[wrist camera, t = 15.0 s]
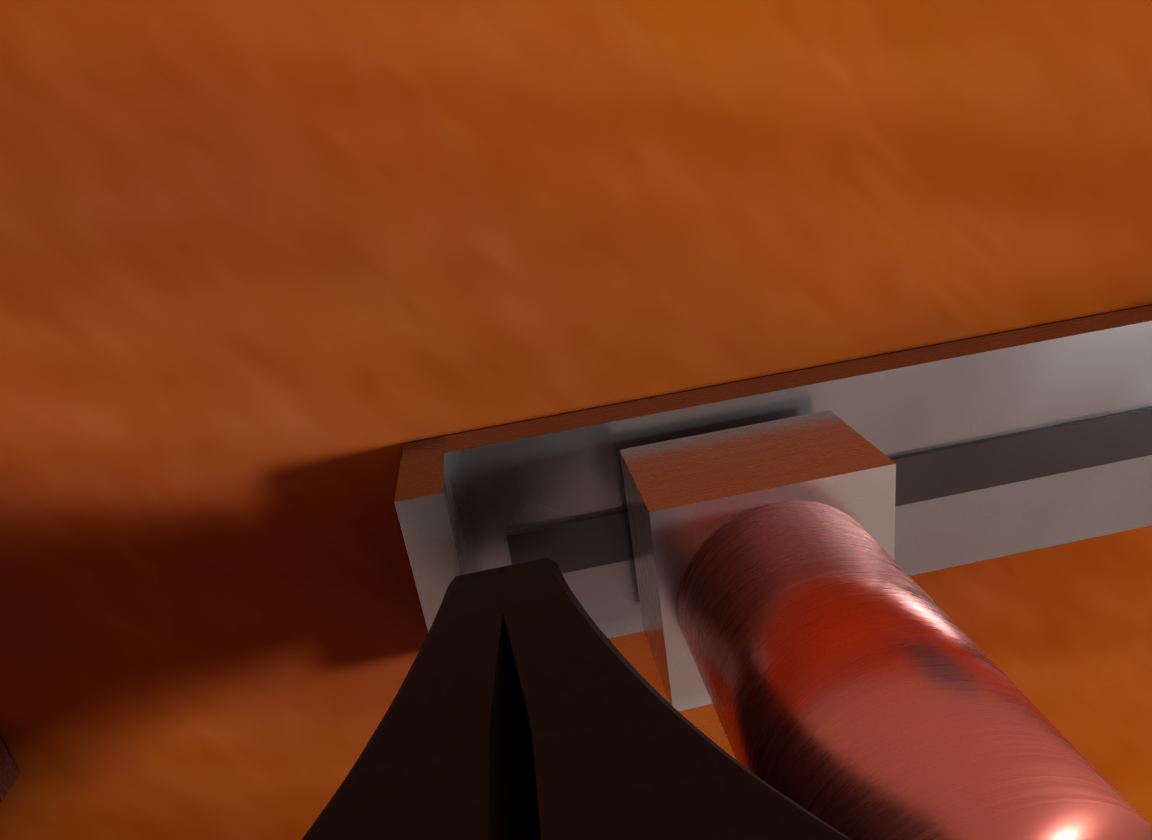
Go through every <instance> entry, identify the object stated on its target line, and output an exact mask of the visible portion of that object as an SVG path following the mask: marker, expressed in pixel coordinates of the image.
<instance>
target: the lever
mask: <svg viewBox="0 0 1152 840" xmlns="http://www.w3.org/2000/svg"><path fill="white" fill-rule="evenodd" d="M620 457H621V465H622V472H623V480H624V487H625V495H626V503H627V510H628V518H629V525H630V533H631V540H632V548H633V556H634V563H635V571H636V578H637V586H638V593H639V601H640V609H641V616H642V624H643V629H644V632H645V635H646V638H647V640H648V643H649V646H650V649H651V651H652V654H653V657H654V660H655V663H656V665H657V668H658V671H659V674H660V677H661V679H662V682H663V685H664V688H665V691H666V693H667V696H668V699H669V702H670V704H671V705H672V706H673V707H674V708H675V709H676V710H677V711H682V710H686V709H691V708H695V707H700V706H705V705H709V704H713V706H714V708H715V710H716V713H717V715H718V717H719V720H720V722H721V724H722V727H723V729H724V731H725V734H726V736H727V738H728V741H729V743H730V745H731V748H732V750H733V752H734V755H735V757H736V759H737V761H738V762H740V763H741V764H742V765H743V766H745V767H746V768H747V769H749V770H750V771H751V772H753V773H754V774H755V775H756V776H758V777H759V778H760V779H762V780H763V781H764V782H766V783H767V784H769V785H770V786H772V787H773V788H775V789H776V790H778V791H779V792H781V793H782V794H784V795H785V796H787V797H788V798H790V799H791V800H793V801H794V802H796V803H797V804H799V805H800V806H802V807H803V808H805V809H806V810H808V811H809V812H811V813H812V814H814V815H815V816H817V817H818V818H820V819H821V820H823V821H824V822H826V823H827V824H829V825H830V826H832V827H833V828H835V829H836V830H838V831H839V832H841V833H842V834H844V835H845V836H847V837H848V838H850V839H851V840H1152V827H1151V826H1150V824H1149V823H1148V822H1147V821H1146V820H1145V819H1144V818H1143V817H1142V816H1141V815H1140V814H1139V813H1138V812H1137V811H1136V810H1135V809H1134V808H1133V807H1132V806H1131V805H1130V804H1129V803H1128V802H1127V801H1126V800H1125V799H1124V798H1123V797H1122V795H1121V794H1120V793H1119V792H1118V791H1117V790H1116V789H1115V788H1114V787H1113V786H1112V785H1111V784H1110V783H1109V782H1108V781H1107V780H1106V779H1105V778H1104V777H1103V776H1102V775H1101V774H1100V773H1099V772H1098V771H1097V770H1096V769H1095V768H1094V766H1093V765H1092V764H1091V763H1090V762H1089V761H1088V760H1087V759H1086V758H1085V757H1084V756H1083V755H1082V754H1081V753H1080V752H1079V751H1078V750H1077V749H1076V748H1075V747H1074V746H1073V745H1072V744H1071V743H1070V742H1069V741H1068V740H1067V739H1066V737H1065V736H1064V735H1063V734H1062V733H1061V732H1060V731H1059V730H1058V729H1057V728H1056V727H1055V726H1054V725H1053V724H1052V723H1051V722H1050V721H1049V720H1048V719H1047V718H1046V717H1045V716H1044V715H1043V714H1042V713H1041V712H1040V711H1039V710H1038V709H1037V707H1036V706H1035V705H1034V704H1033V703H1032V702H1031V701H1030V700H1029V699H1028V698H1027V697H1026V696H1025V695H1024V694H1023V693H1022V692H1021V691H1020V690H1019V689H1018V688H1017V687H1016V686H1015V685H1014V684H1013V683H1012V682H1011V681H1010V680H1009V678H1008V677H1007V676H1006V675H1005V674H1004V673H1003V672H1002V671H1001V670H1000V669H999V668H998V667H997V666H996V665H995V664H994V663H993V662H992V661H991V660H990V659H989V658H988V657H987V656H986V655H985V654H984V653H983V652H982V651H981V649H980V648H979V647H978V646H977V645H976V644H975V643H974V642H973V641H972V640H971V639H970V638H969V637H968V636H967V635H966V634H965V633H964V632H963V631H962V630H961V629H960V628H959V627H958V626H957V625H956V624H955V623H954V622H953V620H952V619H951V618H950V617H949V616H948V615H947V614H946V613H945V612H944V611H943V610H942V609H941V608H940V607H939V606H938V605H937V604H936V603H935V602H934V601H933V600H932V599H931V598H930V597H929V596H928V595H927V594H926V593H925V591H924V590H923V589H922V588H921V587H920V586H919V585H918V584H917V583H916V582H915V581H914V580H913V579H912V578H911V577H910V576H909V575H908V574H907V573H906V572H905V571H904V570H903V569H902V568H901V567H900V566H899V565H898V564H897V562H896V561H895V560H894V544H895V490H896V463H894V462H893V461H892V460H891V459H890V458H888V457H887V456H886V455H885V454H883V453H882V452H881V451H880V450H878V449H877V448H876V447H875V446H874V445H872V444H871V443H870V442H869V441H867V440H866V439H865V438H864V437H862V436H861V435H860V434H859V433H858V432H856V431H855V430H854V429H853V428H851V427H850V426H849V425H848V424H846V423H845V422H844V421H843V420H842V419H840V418H839V417H838V416H837V415H835V414H834V413H833V412H832V411H830V410H826V411H821V412H815V413H810V414H805V415H800V416H794V417H789V418H784V419H779V420H773V421H768V422H763V423H758V424H752V425H747V426H742V427H737V428H731V429H726V430H721V431H716V432H710V433H705V434H700V435H694V436H689V437H684V438H679V439H673V440H668V441H663V442H658V443H652V444H647V445H642V446H637V447H631V448H626V449H621V450H620Z"/></svg>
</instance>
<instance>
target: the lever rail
mask: <svg viewBox="0 0 1152 840" xmlns="http://www.w3.org/2000/svg"><path fill="white" fill-rule="evenodd" d="M826 410H830V411H832V412H833V413H834V414H835V415H837V416H838V417H839V418H840V419H842V420H843V421H844V422H845V423H846V424H848V425H849V426H850V427H851V428H853V429H854V430H855V431H856V432H858V433H859V434H860V435H861V436H862V437H864V438H865V439H866V440H867V441H869V442H870V443H871V444H872V445H874V446H875V447H876V448H877V449H878V450H880V451H881V452H882V453H883V454H885V455H886V456H887V457H888V458H890V459H891V460H892V461H893V462H894V463H896V490H895V544H894V560H895V561H896V562H897V564H898V565H899V566H900V567H901V568H902V569H903V570H904V571H905V572H906V573H907V574H908V575H909V576H911V575H916V574H921V573H925V572H930V571H935V570H940V569H944V568H949V567H954V566H959V565H964V564H968V563H973V562H978V561H983V560H988V559H992V558H997V557H1002V556H1007V555H1012V554H1016V553H1021V552H1026V551H1031V550H1036V549H1040V548H1045V547H1050V546H1055V545H1060V544H1064V543H1069V542H1074V541H1079V540H1083V539H1088V538H1093V537H1098V536H1103V535H1107V534H1112V533H1117V532H1122V531H1127V530H1131V529H1136V528H1141V527H1146V526H1151V525H1152V305H1149V306H1144V307H1139V308H1133V309H1128V310H1122V311H1117V312H1112V313H1106V314H1101V315H1095V316H1090V317H1085V318H1079V319H1074V320H1069V321H1063V322H1058V323H1052V324H1047V325H1042V326H1036V327H1031V328H1025V329H1020V330H1015V331H1009V332H1004V333H998V334H993V335H988V336H982V337H977V338H971V339H966V340H961V341H955V342H950V343H945V344H939V345H934V346H928V347H923V348H918V349H912V350H907V351H901V352H896V353H891V354H885V355H880V356H874V357H869V358H864V359H858V360H853V361H847V362H842V363H837V364H831V365H826V366H820V367H815V368H810V369H804V370H799V371H794V372H788V373H783V374H777V375H772V376H767V377H761V378H756V379H750V380H745V381H740V382H734V383H729V384H723V385H718V386H713V387H707V388H702V389H696V390H691V391H686V392H680V393H675V394H670V395H664V396H659V397H653V398H648V399H643V400H637V401H632V402H626V403H621V404H616V405H610V406H605V407H599V408H594V409H589V410H583V411H578V412H572V413H567V414H562V415H556V416H551V417H546V418H540V419H535V420H529V421H524V422H519V423H513V424H508V425H502V426H497V427H492V428H486V429H481V430H475V431H470V432H465V433H459V434H454V435H448V436H443V437H438V438H432V439H427V440H422V441H416V442H411V443H405V444H403V449H402V455H401V462H400V468H399V474H398V481H397V487H396V493H395V500H394V504H395V507H396V511H397V515H398V519H399V523H400V527H401V530H402V534H403V538H404V542H405V546H406V549H407V553H408V557H409V561H410V565H411V568H412V572H413V576H414V580H415V584H416V588H417V591H418V595H419V599H420V603H421V607H422V610H423V614H424V618H425V622H426V626H427V629H428V632H429V630H430V628H431V626H432V624H433V621H434V619H435V617H436V615H437V612H438V610H439V608H440V605H441V603H442V600H443V598H444V595H445V593H446V590H447V588H448V585H449V584H450V583H451V581H452V580H453V579H454V577H455V576H459V575H464V574H469V573H474V572H479V571H484V570H489V569H494V568H498V567H503V566H508V565H513V564H518V563H523V562H528V561H533V560H538V559H543V558H549V559H551V560H552V561H554V562H555V563H557V564H558V566H559V569H560V571H561V573H562V575H563V577H564V579H565V581H566V582H567V584H568V586H569V587H570V589H571V590H572V592H573V594H574V595H575V597H576V598H577V599H578V601H579V602H580V604H581V605H582V606H583V608H584V609H585V611H586V612H587V613H588V615H589V616H590V617H591V618H592V620H593V621H594V622H595V624H596V625H597V626H598V627H599V629H600V630H601V631H602V632H603V633H604V634H605V636H606V637H607V638H608V639H609V638H614V637H619V636H623V635H628V634H633V633H638V632H643V631H644V629H643V624H642V616H641V609H640V601H639V593H638V586H637V578H636V571H635V563H634V556H633V548H632V540H631V533H630V525H629V518H628V510H627V503H626V495H625V487H624V480H623V472H622V465H621V457H620V450H621V449H626V448H631V447H637V446H642V445H647V444H652V443H658V442H663V441H668V440H673V439H679V438H684V437H689V436H694V435H700V434H705V433H710V432H716V431H721V430H726V429H731V428H737V427H742V426H747V425H752V424H758V423H763V422H768V421H773V420H779V419H784V418H789V417H794V416H800V415H805V414H810V413H815V412H821V411H826Z"/></svg>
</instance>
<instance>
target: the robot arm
mask: <svg viewBox="0 0 1152 840" xmlns="http://www.w3.org/2000/svg"><path fill="white" fill-rule="evenodd" d="M302 840H851V839H850V838H848V837H847V836H845V835H844V834H842V833H841V832H839V831H838V830H836V829H835V828H833V827H832V826H830V825H829V824H827V823H826V822H824V821H823V820H821V819H820V818H818V817H817V816H815V815H814V814H812V813H811V812H809V811H808V810H806V809H805V808H803V807H802V806H800V805H799V804H797V803H796V802H794V801H793V800H791V799H790V798H788V797H787V796H785V795H784V794H782V793H781V792H779V791H778V790H776V789H775V788H773V787H772V786H770V785H769V784H767V783H766V782H764V781H763V780H762V779H760V778H759V777H758V776H756V775H755V774H754V773H753V772H751V771H750V770H749V769H747V768H746V767H745V766H743V765H742V764H741V763H740V762H738V761H737V760H736V759H734V758H733V757H732V756H730V755H729V754H728V753H726V752H725V751H724V750H723V749H721V748H720V747H719V746H718V745H717V744H715V743H714V742H713V741H712V740H711V739H709V738H708V737H707V736H706V735H705V734H703V733H702V732H701V731H700V730H699V729H697V728H696V727H695V726H694V725H693V724H692V723H691V722H689V721H688V720H687V719H686V718H685V717H684V716H683V715H682V714H680V713H679V712H678V711H677V710H676V709H675V708H674V707H673V706H672V705H671V704H670V703H669V702H668V701H666V700H665V699H664V698H663V697H662V696H661V695H660V694H659V693H658V692H657V691H656V690H655V689H654V688H653V687H652V686H651V685H650V684H649V683H648V682H647V681H646V680H645V679H644V678H643V677H642V676H641V675H640V674H639V673H638V672H637V671H636V669H635V668H634V667H633V666H632V665H631V664H630V663H629V662H628V661H627V660H626V659H625V658H624V657H623V655H622V654H621V653H620V652H619V651H618V650H617V648H616V647H615V646H614V645H613V644H612V643H611V641H610V640H609V639H608V638H607V637H606V636H605V634H604V633H603V632H602V631H601V630H600V629H599V627H598V626H597V625H596V624H595V622H594V621H593V620H592V618H591V617H590V616H589V615H588V613H587V612H586V611H585V609H584V608H583V606H582V605H581V604H580V602H579V601H578V599H577V598H576V597H575V595H574V594H573V592H572V590H571V589H570V587H569V586H568V584H567V582H566V581H565V579H564V577H563V575H562V573H561V571H560V569H559V566H558V564H557V563H555V562H554V561H552V560H551V559H549V558H543V559H538V560H533V561H528V562H523V563H518V564H513V565H508V566H503V567H498V568H494V569H489V570H484V571H479V572H474V573H469V574H464V575H459V576H455V577H454V579H453V580H452V581H451V583H450V584H449V585H448V588H447V590H446V593H445V595H444V598H443V600H442V603H441V605H440V608H439V610H438V612H437V615H436V617H435V619H434V621H433V624H432V626H431V628H430V630H429V632H428V634H427V637H426V639H425V641H424V643H423V645H422V647H421V649H420V651H419V653H418V655H417V657H416V659H415V661H414V663H413V665H412V666H411V668H410V670H409V672H408V674H407V676H406V678H405V680H404V682H403V684H402V686H401V688H400V689H399V691H398V693H397V695H396V697H395V699H394V700H393V702H392V704H391V706H390V707H389V709H388V711H387V712H386V714H385V716H384V717H383V719H382V721H381V722H380V724H379V726H378V727H377V729H376V731H375V732H374V734H373V735H372V737H371V739H370V740H369V742H368V744H367V745H366V747H365V749H364V750H363V752H362V754H361V755H360V757H359V759H358V760H357V762H356V763H355V765H354V766H353V768H352V769H351V771H350V772H349V774H348V775H347V777H346V778H345V780H344V781H343V783H342V784H341V786H340V787H339V789H338V790H337V791H336V793H335V794H334V796H333V797H332V799H331V800H330V802H329V803H328V804H327V806H326V807H325V809H324V810H323V811H322V813H321V814H320V815H319V817H318V818H317V819H316V821H315V822H314V824H313V825H312V826H311V828H310V829H309V830H308V832H307V833H306V835H305V836H304V837H303V839H302Z"/></svg>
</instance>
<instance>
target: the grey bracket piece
mask: <svg viewBox="0 0 1152 840" xmlns="http://www.w3.org/2000/svg"><path fill="white" fill-rule="evenodd" d="M19 774H20V773H19V771H18V769H17V767H16V765H15V764H14V762H13V760H12V758H11V756H10V755H9V753H8V751H7V749H6V747H5V746H4V744H3V742H2V740H1V738H0V803H1V801H2V800H3V798H4V797H5V795H6V794H7V792H8V791H9V789H10V788H11V786H12V785H13V783H14V782H15V780H16V778H17V777H18V775H19Z"/></svg>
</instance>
